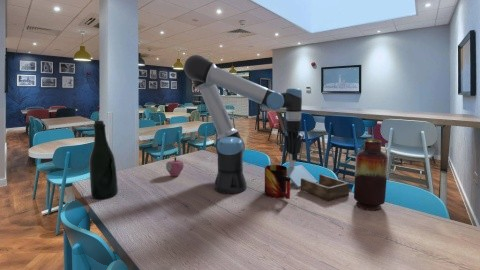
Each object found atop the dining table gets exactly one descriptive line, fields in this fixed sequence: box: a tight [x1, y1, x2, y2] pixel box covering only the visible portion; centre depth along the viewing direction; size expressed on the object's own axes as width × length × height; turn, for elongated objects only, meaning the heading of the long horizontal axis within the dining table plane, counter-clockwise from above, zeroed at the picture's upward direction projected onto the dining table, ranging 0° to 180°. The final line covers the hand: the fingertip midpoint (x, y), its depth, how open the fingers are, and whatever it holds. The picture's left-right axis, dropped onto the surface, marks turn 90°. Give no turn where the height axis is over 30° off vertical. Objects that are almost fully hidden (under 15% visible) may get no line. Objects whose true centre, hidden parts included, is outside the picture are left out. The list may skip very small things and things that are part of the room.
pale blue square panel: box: [286, 164, 319, 189], centre depth 132 cm, size 13×13×1 cm
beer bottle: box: [88, 120, 119, 200], centre depth 116 cm, size 10×10×33 cm
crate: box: [300, 173, 350, 202], centre depth 119 cm, size 16×13×6 cm
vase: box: [353, 138, 389, 212], centre depth 103 cm, size 11×11×26 cm
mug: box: [264, 164, 291, 200], centre depth 117 cm, size 10×14×12 cm
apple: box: [165, 156, 185, 177], centre depth 145 cm, size 10×9×10 cm
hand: (292, 166), depth 136 cm, fingers closed
